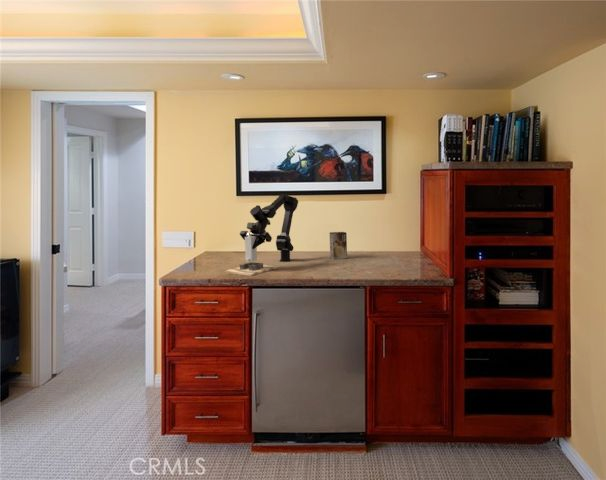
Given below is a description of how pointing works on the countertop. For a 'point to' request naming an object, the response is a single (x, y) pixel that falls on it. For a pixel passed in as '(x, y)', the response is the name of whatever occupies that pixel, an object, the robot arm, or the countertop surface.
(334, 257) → the coffee box
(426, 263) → the countertop surface
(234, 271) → the board
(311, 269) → the countertop surface
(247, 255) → the block
